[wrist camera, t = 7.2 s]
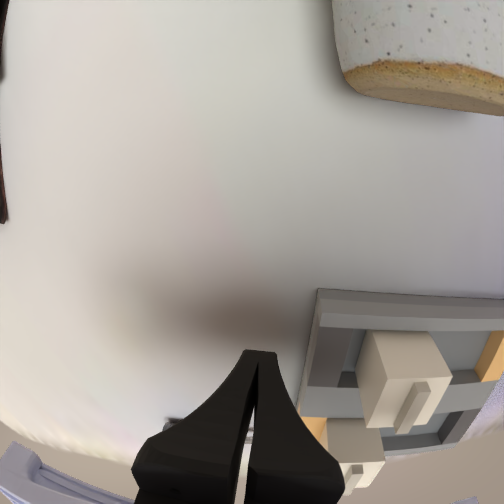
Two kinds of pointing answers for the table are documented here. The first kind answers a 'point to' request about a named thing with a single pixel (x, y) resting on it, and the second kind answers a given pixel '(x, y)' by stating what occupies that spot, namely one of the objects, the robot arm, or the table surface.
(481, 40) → the ceramic mug
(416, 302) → the switch bank
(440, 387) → the tab
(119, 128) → the table surface
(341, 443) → the tab
